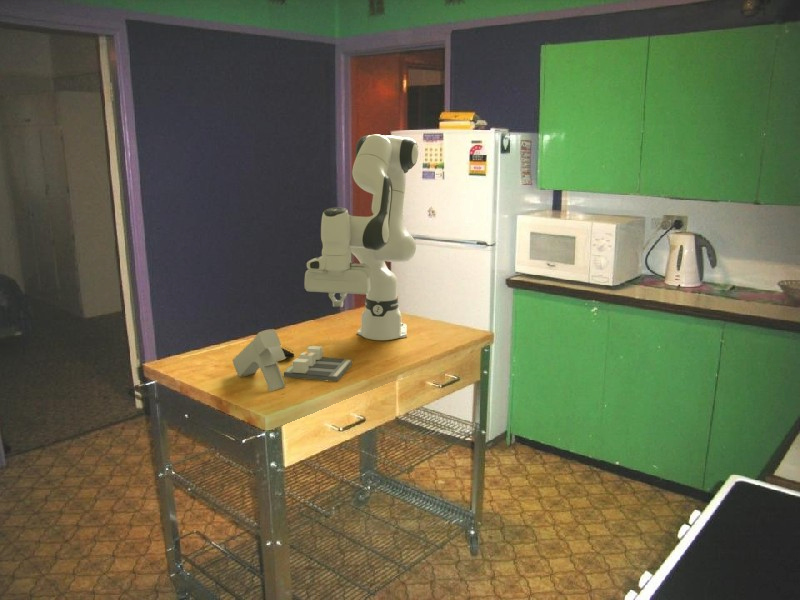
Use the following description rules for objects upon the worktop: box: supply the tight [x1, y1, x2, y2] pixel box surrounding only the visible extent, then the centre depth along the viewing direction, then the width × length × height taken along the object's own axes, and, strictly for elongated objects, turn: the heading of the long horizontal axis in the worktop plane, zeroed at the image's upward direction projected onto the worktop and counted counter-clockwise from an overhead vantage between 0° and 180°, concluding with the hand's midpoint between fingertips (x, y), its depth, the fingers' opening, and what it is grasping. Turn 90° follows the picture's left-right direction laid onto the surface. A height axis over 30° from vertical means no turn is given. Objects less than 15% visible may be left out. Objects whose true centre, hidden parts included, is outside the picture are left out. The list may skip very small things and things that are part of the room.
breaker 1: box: [292, 357, 309, 373], centre depth 202 cm, size 3×4×4 cm
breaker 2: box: [299, 351, 316, 366], centre depth 208 cm, size 3×4×4 cm
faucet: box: [232, 328, 287, 392], centre depth 196 cm, size 6×16×20 cm
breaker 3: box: [306, 345, 323, 360], centre depth 214 cm, size 3×4×4 cm
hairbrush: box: [280, 344, 295, 358], centre depth 226 cm, size 8×4×25 cm
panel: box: [283, 356, 353, 382], centre depth 208 cm, size 17×17×2 cm
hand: (338, 306), depth 204 cm, fingers closed
